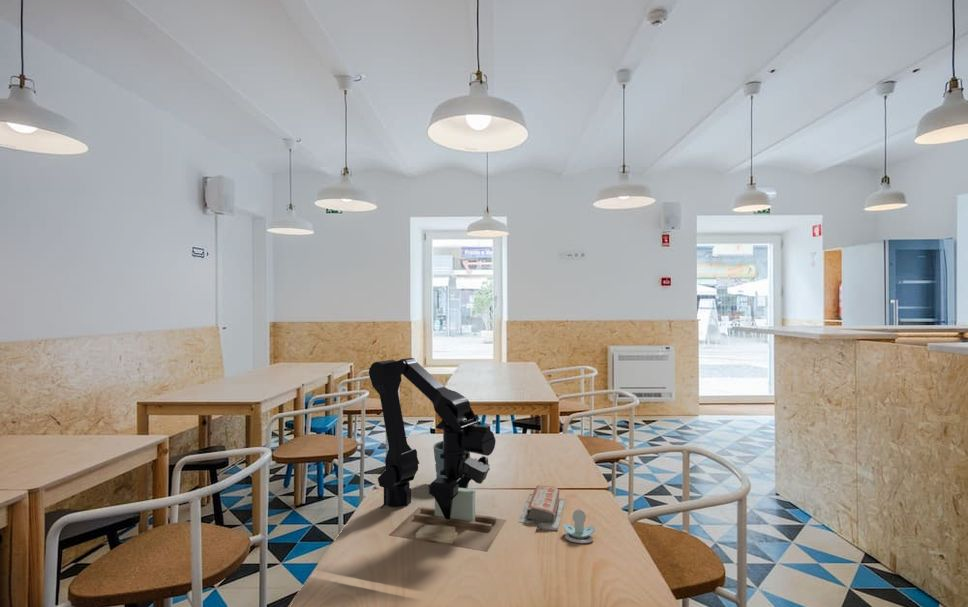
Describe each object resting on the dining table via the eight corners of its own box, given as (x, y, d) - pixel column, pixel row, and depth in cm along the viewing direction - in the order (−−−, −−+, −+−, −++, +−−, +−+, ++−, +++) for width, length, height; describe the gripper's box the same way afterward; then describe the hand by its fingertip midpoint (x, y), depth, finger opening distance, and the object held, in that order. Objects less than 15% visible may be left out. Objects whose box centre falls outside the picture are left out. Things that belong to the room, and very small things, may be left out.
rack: (388, 539, 113) (388, 529, 113) (418, 511, 129) (418, 502, 129) (487, 555, 106) (487, 545, 106) (506, 523, 121) (506, 515, 121)
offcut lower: (415, 537, 112) (415, 533, 112) (422, 530, 116) (422, 526, 116) (452, 543, 109) (452, 539, 109) (457, 536, 113) (457, 532, 113)
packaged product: (529, 482, 138) (565, 485, 135) (529, 499, 138) (565, 503, 135) (517, 508, 120) (558, 513, 118) (517, 528, 120) (558, 533, 118)
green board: (434, 519, 121) (434, 487, 121) (437, 516, 123) (437, 484, 123) (472, 525, 118) (472, 492, 118) (475, 521, 120) (475, 489, 120)
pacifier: (595, 546, 111) (594, 533, 116) (595, 519, 110) (594, 507, 116) (562, 543, 112) (563, 530, 118) (562, 516, 112) (563, 505, 118)
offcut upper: (421, 535, 111) (421, 530, 111) (425, 529, 114) (425, 524, 114) (452, 537, 110) (452, 532, 110) (455, 531, 113) (455, 526, 113)
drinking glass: (473, 482, 149) (473, 443, 149) (454, 493, 140) (454, 451, 140) (446, 476, 154) (446, 438, 154) (426, 486, 146) (426, 446, 146)
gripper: (473, 463, 109) (473, 533, 109) (496, 440, 127) (496, 500, 127) (427, 458, 113) (427, 525, 113) (456, 437, 130) (456, 495, 131)
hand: (454, 511), depth 121 cm, fingers open, 9 cm apart
